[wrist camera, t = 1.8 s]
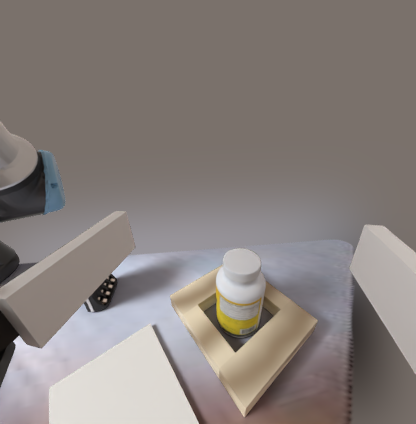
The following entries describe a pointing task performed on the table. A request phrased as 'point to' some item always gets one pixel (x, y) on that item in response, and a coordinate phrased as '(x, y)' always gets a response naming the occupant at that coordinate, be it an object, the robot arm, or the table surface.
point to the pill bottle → (240, 292)
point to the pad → (123, 388)
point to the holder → (254, 348)
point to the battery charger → (102, 295)
